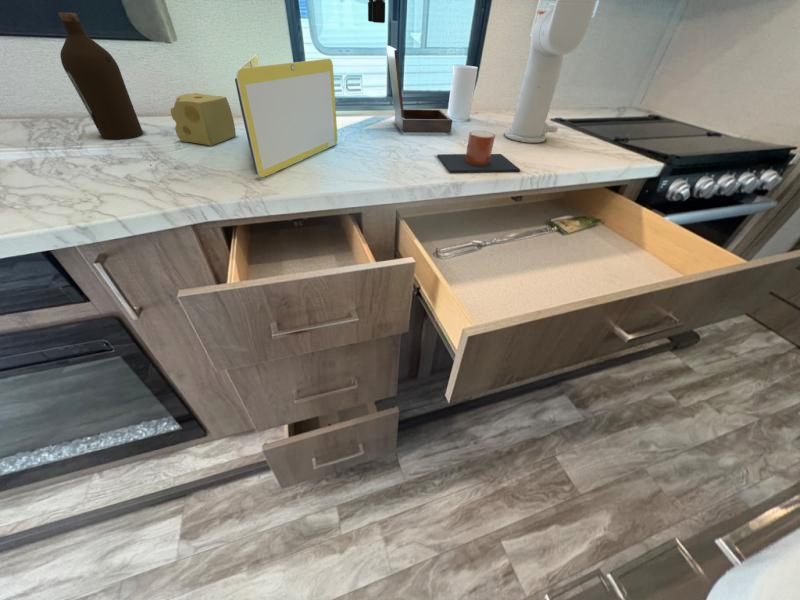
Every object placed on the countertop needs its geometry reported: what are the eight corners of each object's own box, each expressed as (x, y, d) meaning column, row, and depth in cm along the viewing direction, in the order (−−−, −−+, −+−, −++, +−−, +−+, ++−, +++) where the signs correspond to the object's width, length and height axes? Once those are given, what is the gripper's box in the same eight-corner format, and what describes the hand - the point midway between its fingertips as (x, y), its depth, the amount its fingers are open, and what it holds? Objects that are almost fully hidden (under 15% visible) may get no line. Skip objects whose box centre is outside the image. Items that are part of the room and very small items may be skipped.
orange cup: (484, 157, 88) (489, 130, 83) (492, 165, 83) (499, 137, 79) (461, 157, 87) (466, 130, 82) (469, 165, 82) (474, 137, 78)
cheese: (179, 141, 88) (163, 97, 81) (208, 131, 96) (196, 91, 89) (212, 147, 86) (198, 102, 79) (239, 136, 94) (229, 95, 87)
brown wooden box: (438, 123, 116) (440, 109, 113) (450, 135, 105) (452, 120, 103) (394, 123, 114) (395, 109, 111) (402, 135, 103) (402, 119, 100)
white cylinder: (468, 117, 126) (476, 66, 115) (469, 122, 119) (478, 68, 109) (446, 115, 126) (453, 64, 116) (446, 120, 120) (453, 67, 109)
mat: (500, 156, 91) (501, 153, 91) (519, 171, 82) (520, 169, 82) (437, 156, 88) (437, 154, 88) (450, 172, 79) (450, 170, 79)
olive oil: (147, 128, 95) (99, 13, 79) (144, 138, 88) (92, 14, 72) (101, 131, 91) (42, 11, 75) (95, 141, 84) (28, 12, 68)
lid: (389, 45, 100) (386, 46, 100) (397, 49, 89) (394, 50, 89) (396, 107, 111) (394, 107, 111) (404, 117, 100) (401, 118, 100)
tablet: (258, 135, 95) (240, 50, 83) (334, 134, 100) (328, 53, 87) (245, 181, 70) (216, 68, 57) (349, 177, 74) (343, 71, 62)
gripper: (398, -79, 72) (395, 24, 83) (386, -65, 85) (385, 22, 96) (364, -83, 71) (365, 22, 82) (357, -69, 84) (359, 20, 95)
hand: (376, 22), depth 89 cm, fingers open, 9 cm apart
